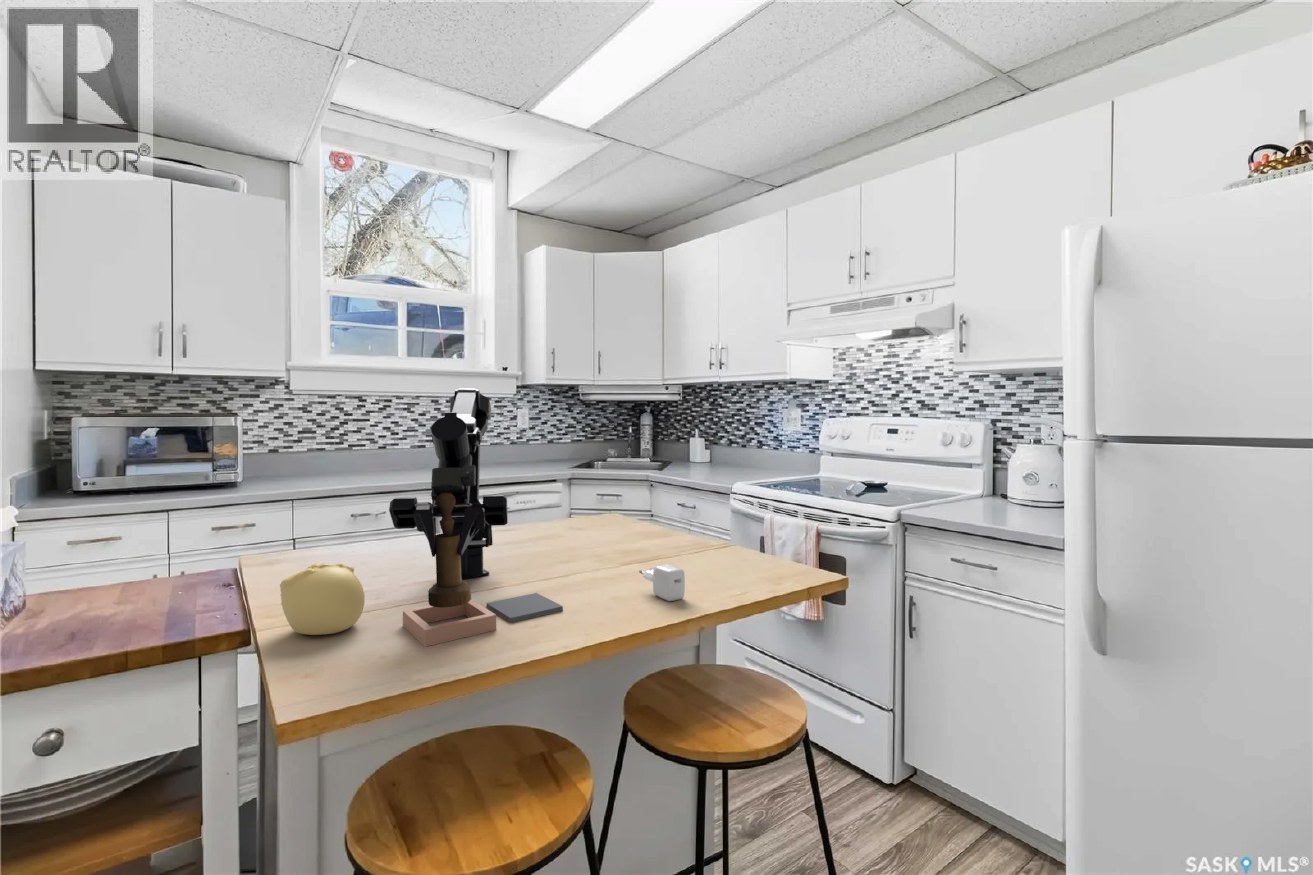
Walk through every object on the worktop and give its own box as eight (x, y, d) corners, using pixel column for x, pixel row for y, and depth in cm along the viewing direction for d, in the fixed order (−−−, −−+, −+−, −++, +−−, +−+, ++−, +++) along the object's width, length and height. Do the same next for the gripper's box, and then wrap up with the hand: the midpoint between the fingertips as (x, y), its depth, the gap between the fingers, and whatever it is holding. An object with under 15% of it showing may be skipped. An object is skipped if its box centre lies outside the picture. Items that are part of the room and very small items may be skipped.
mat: (486, 607, 114) (486, 603, 114) (536, 596, 120) (536, 592, 120) (510, 622, 106) (510, 618, 106) (562, 610, 112) (562, 606, 112)
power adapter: (635, 588, 126) (635, 559, 125) (655, 584, 128) (655, 556, 128) (666, 603, 116) (666, 572, 116) (688, 599, 119) (688, 568, 119)
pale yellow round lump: (344, 612, 111) (342, 552, 111) (377, 628, 104) (376, 563, 103) (272, 630, 102) (270, 565, 102) (303, 649, 95) (301, 578, 94)
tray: (402, 625, 105) (402, 610, 105) (469, 611, 112) (469, 597, 112) (425, 646, 96) (425, 630, 96) (496, 629, 103) (496, 614, 103)
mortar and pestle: (470, 593, 108) (466, 489, 107) (471, 605, 102) (467, 494, 100) (429, 598, 106) (424, 491, 105) (427, 610, 100) (422, 497, 98)
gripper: (390, 449, 104) (375, 529, 94) (506, 448, 108) (504, 525, 98) (400, 489, 112) (388, 567, 102) (508, 487, 116) (506, 562, 106)
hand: (446, 554), depth 102 cm, fingers closed on mortar and pestle, 4 cm apart
